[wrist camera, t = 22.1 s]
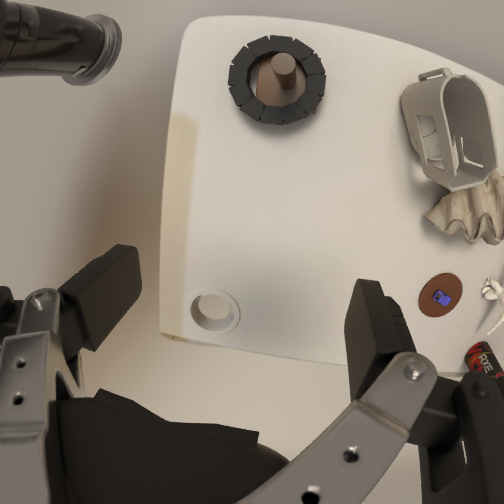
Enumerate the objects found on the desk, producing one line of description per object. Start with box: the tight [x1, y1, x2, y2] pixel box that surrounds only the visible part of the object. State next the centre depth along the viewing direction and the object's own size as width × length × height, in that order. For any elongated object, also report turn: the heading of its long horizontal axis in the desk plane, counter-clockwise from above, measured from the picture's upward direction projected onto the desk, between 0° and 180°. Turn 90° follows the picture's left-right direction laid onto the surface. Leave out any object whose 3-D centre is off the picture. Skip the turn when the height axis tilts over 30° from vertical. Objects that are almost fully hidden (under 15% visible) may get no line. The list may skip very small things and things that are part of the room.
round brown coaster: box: [419, 273, 462, 317], centre depth 39 cm, size 8×8×2 cm
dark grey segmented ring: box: [228, 35, 326, 125], centre depth 29 cm, size 10×10×2 cm
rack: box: [256, 53, 321, 114], centre depth 26 cm, size 7×7×12 cm
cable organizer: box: [401, 68, 498, 192], centre depth 25 cm, size 7×12×12 cm, turn 19°
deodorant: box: [465, 342, 504, 400], centre depth 37 cm, size 6×6×15 cm
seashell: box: [426, 170, 504, 245], centre depth 28 cm, size 10×15×10 cm
